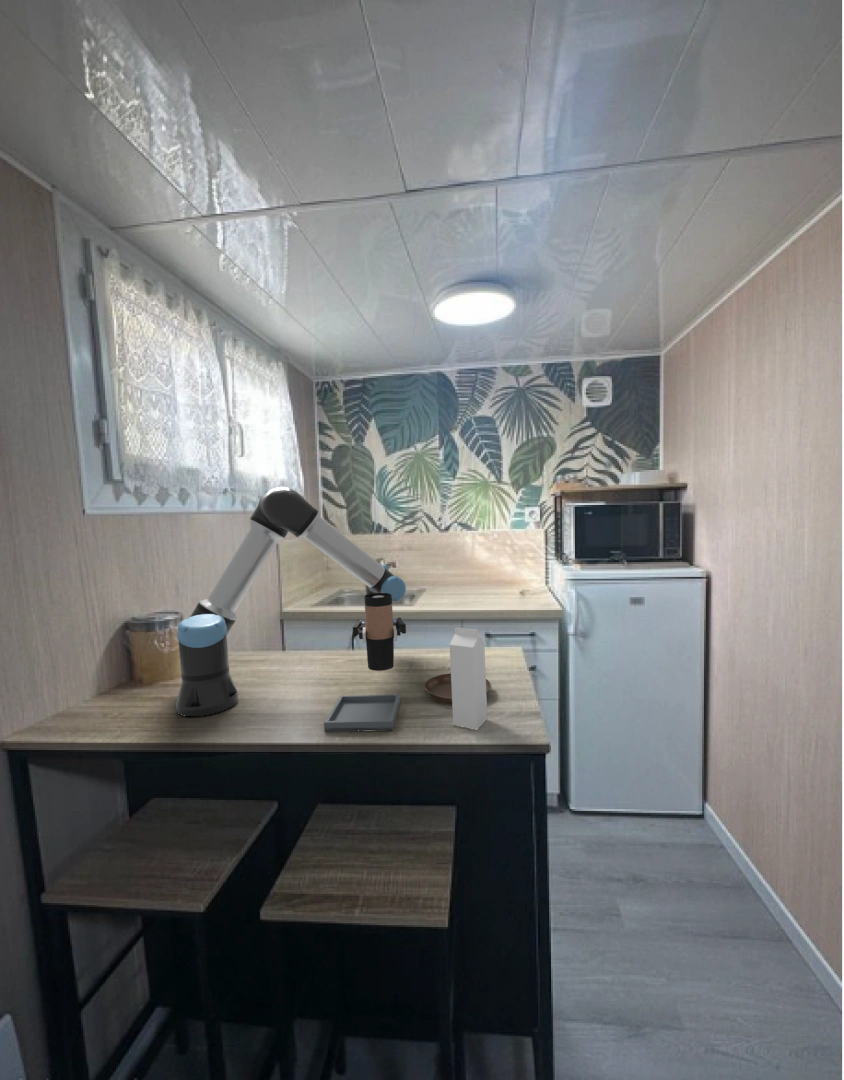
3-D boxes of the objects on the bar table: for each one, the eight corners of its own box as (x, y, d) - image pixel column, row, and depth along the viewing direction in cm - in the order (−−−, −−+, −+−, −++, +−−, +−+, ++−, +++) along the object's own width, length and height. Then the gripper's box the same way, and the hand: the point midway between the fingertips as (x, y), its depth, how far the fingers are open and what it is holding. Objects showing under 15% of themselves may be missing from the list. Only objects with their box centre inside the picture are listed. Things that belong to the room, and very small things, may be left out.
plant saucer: (502, 689, 131) (501, 678, 131) (472, 714, 116) (471, 702, 116) (445, 679, 141) (445, 669, 140) (411, 701, 126) (411, 689, 126)
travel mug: (361, 666, 134) (358, 595, 133) (383, 660, 139) (380, 591, 138) (377, 673, 128) (375, 598, 127) (400, 666, 133) (397, 594, 132)
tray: (324, 731, 110) (324, 722, 110) (340, 703, 126) (340, 695, 125) (392, 730, 109) (391, 721, 109) (400, 702, 125) (399, 694, 124)
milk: (464, 715, 115) (460, 624, 114) (488, 720, 112) (484, 626, 111) (452, 725, 110) (448, 630, 109) (477, 731, 107) (472, 633, 106)
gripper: (411, 628, 152) (418, 648, 130) (345, 632, 150) (341, 653, 128) (410, 604, 152) (417, 621, 129) (344, 608, 150) (340, 625, 127)
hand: (379, 637), depth 128 cm, fingers closed on travel mug, 8 cm apart
